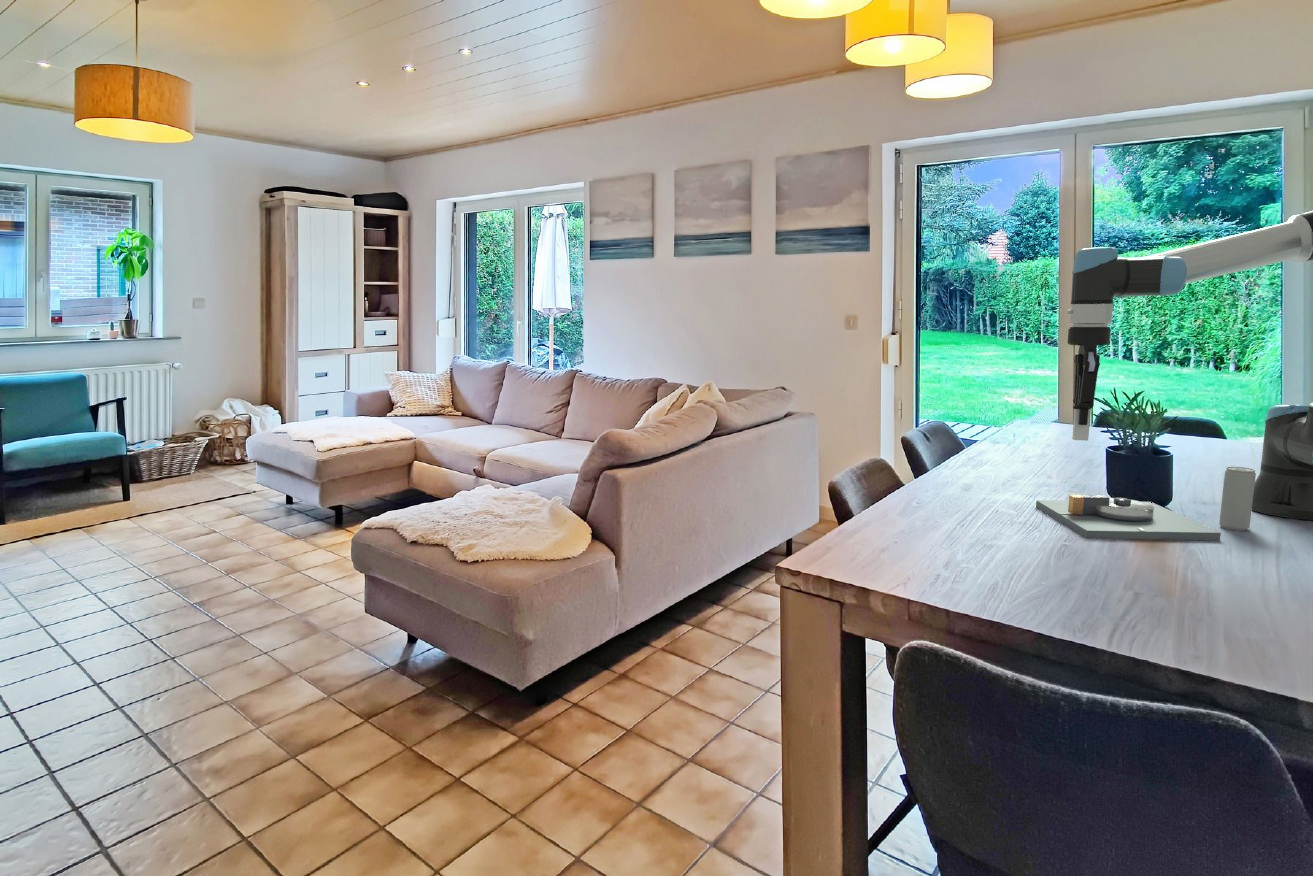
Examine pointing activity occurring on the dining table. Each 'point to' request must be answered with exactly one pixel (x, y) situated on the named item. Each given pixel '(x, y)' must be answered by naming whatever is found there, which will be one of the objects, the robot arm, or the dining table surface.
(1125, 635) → the dining table surface
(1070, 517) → the dial board
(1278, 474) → the robot arm
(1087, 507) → the dial
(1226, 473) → the beverage can
